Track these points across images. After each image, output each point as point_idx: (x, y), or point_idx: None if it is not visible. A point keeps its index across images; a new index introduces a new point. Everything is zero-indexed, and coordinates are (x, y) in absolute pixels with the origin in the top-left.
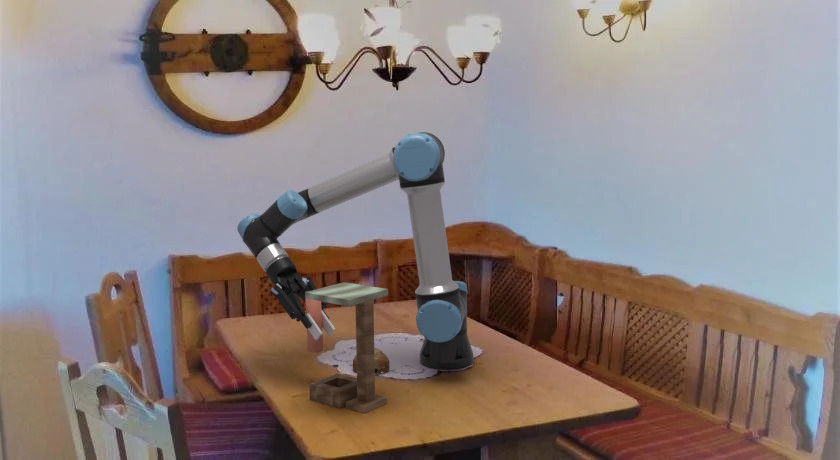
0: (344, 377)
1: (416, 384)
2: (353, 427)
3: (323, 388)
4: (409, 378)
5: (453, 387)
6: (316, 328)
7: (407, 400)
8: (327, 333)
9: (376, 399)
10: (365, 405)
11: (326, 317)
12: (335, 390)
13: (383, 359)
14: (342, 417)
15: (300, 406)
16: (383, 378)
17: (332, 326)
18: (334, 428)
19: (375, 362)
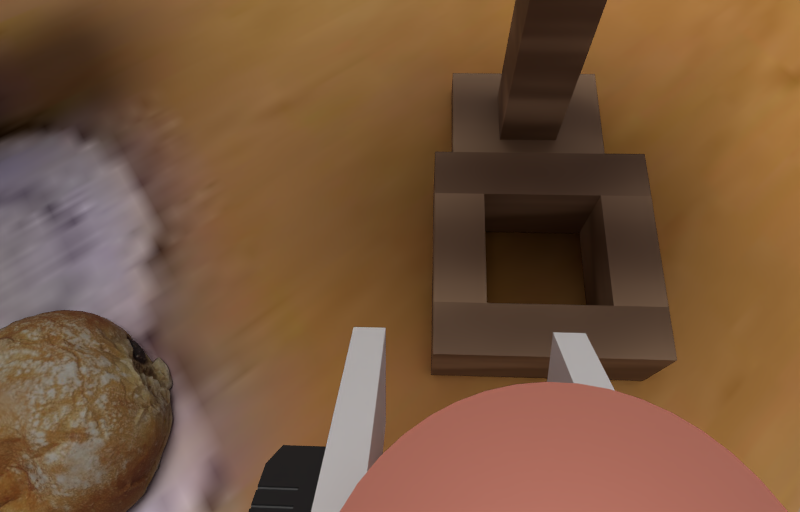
0: (463, 272)
1: (193, 122)
2: (713, 48)
3: (659, 255)
4: (131, 186)
5: (162, 7)
6: (608, 383)
7: (377, 54)
8: (384, 429)
9: (497, 89)
10: (578, 83)
11: (346, 433)
12: (642, 183)
13: (55, 314)
14: (679, 130)
15: (735, 354)
16: (183, 281)
17: (366, 346)
18: (773, 88)
19: (105, 337)
